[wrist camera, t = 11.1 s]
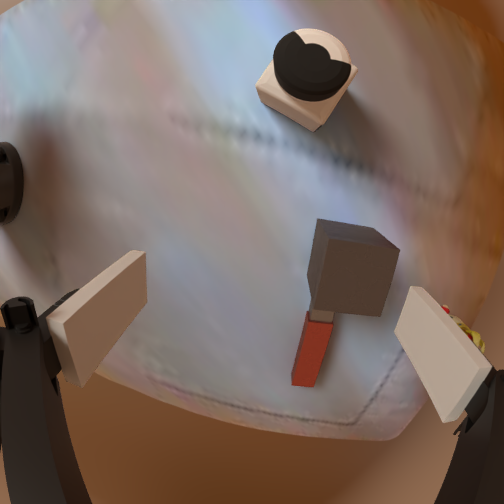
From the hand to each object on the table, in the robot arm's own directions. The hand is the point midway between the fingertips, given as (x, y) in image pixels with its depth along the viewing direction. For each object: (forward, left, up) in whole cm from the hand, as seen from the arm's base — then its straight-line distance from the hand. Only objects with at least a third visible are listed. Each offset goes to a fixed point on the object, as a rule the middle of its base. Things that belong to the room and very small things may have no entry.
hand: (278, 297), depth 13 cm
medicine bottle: (+1, +14, -21) cm, 26 cm away
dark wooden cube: (+7, -3, -18) cm, 19 cm away
